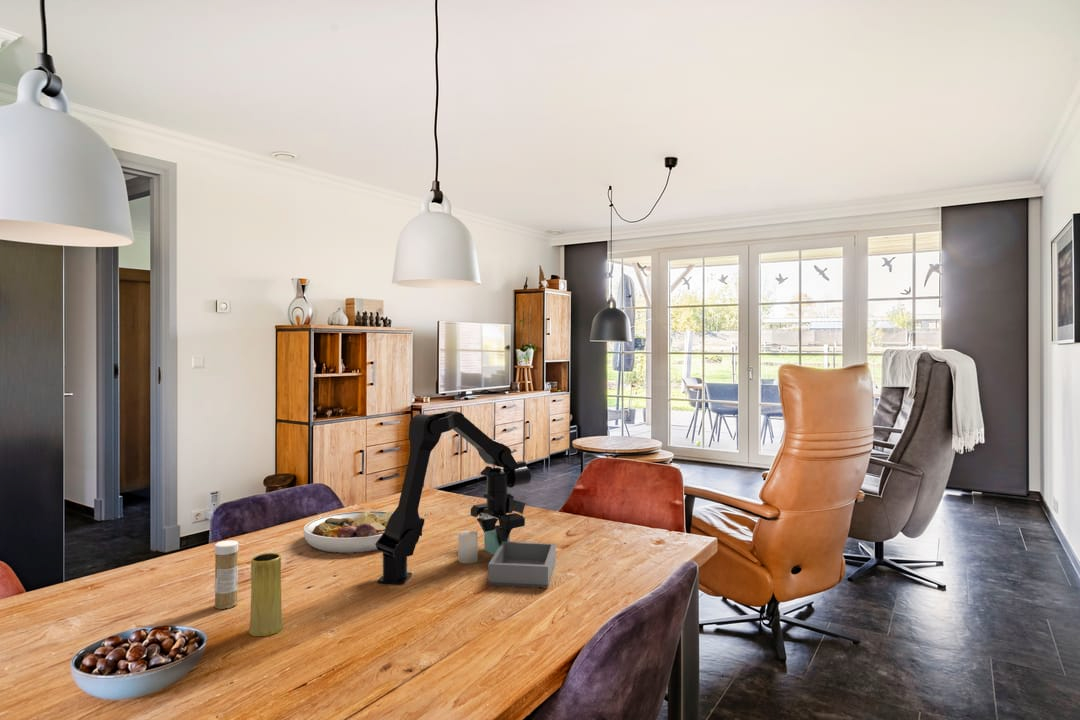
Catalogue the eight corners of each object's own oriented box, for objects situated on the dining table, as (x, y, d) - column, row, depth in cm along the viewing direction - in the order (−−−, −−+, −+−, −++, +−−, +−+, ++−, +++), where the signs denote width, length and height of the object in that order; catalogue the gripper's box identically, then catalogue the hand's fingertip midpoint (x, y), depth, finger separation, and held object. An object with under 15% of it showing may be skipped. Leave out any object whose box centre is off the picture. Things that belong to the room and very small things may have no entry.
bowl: (297, 533, 187) (297, 507, 187) (396, 522, 201) (396, 497, 201) (310, 563, 161) (310, 532, 161) (423, 547, 174) (423, 519, 174)
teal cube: (509, 551, 170) (509, 532, 170) (494, 554, 167) (494, 536, 167) (499, 546, 174) (499, 528, 174) (484, 550, 171) (484, 531, 171)
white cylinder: (475, 563, 160) (475, 536, 160) (456, 563, 160) (456, 536, 160) (479, 557, 165) (479, 531, 165) (460, 556, 165) (461, 530, 165)
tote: (548, 588, 143) (548, 566, 143) (488, 585, 145) (488, 564, 145) (555, 562, 161) (555, 543, 161) (502, 560, 163) (502, 541, 163)
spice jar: (219, 601, 134) (219, 539, 134) (241, 601, 135) (241, 539, 135) (210, 610, 130) (210, 546, 130) (233, 609, 130) (233, 545, 130)
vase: (245, 639, 117) (246, 563, 117) (251, 625, 123) (251, 553, 123) (280, 635, 118) (280, 560, 118) (284, 622, 124) (285, 551, 124)
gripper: (541, 492, 168) (540, 549, 168) (502, 481, 183) (501, 534, 183) (507, 497, 162) (507, 557, 162) (469, 486, 176) (469, 540, 176)
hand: (496, 546), depth 171 cm, fingers closed on teal cube, 5 cm apart
